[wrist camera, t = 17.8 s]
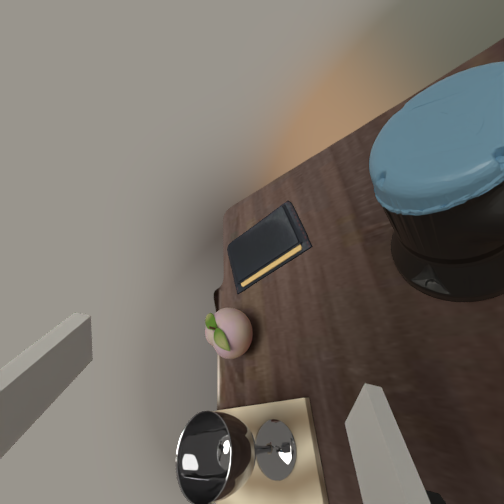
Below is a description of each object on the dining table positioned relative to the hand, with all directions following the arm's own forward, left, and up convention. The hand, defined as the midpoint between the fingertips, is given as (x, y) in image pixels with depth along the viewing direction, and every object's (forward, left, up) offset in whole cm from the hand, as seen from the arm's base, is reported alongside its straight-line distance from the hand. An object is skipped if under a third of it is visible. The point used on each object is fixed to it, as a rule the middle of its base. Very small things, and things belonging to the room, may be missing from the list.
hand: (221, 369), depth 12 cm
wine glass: (+6, -17, -30) cm, 35 cm away
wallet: (-31, -15, -32) cm, 47 cm away
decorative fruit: (-12, -22, -31) cm, 40 cm away
